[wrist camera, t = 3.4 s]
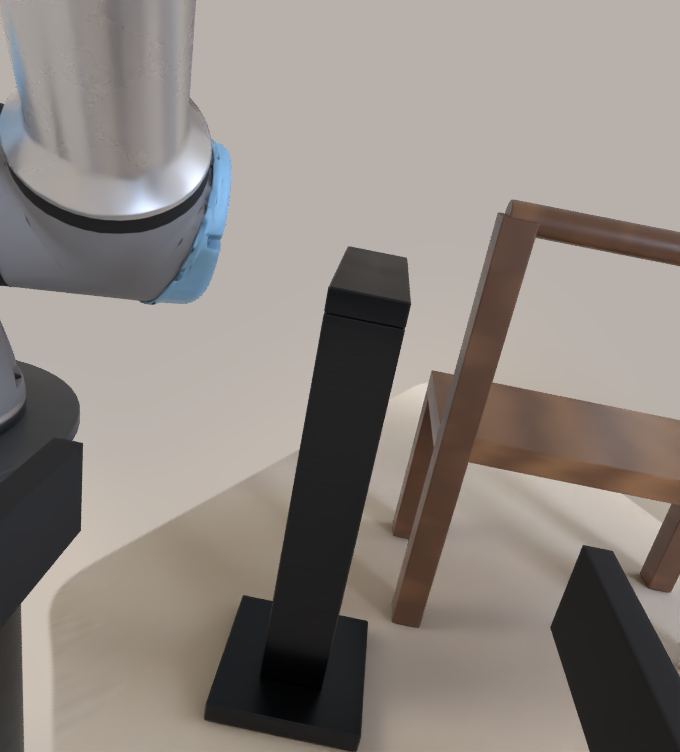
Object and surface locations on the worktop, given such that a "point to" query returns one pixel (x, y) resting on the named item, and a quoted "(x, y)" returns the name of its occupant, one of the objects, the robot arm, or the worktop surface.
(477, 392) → the chair
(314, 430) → the black pedestal stand
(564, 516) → the worktop surface
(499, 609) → the worktop surface
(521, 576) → the worktop surface
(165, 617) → the worktop surface
